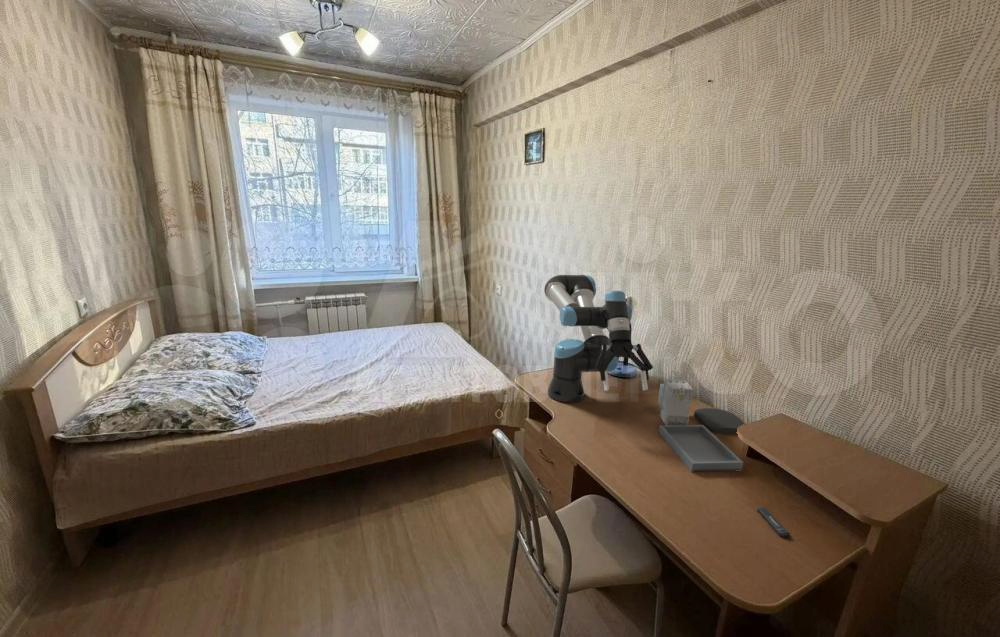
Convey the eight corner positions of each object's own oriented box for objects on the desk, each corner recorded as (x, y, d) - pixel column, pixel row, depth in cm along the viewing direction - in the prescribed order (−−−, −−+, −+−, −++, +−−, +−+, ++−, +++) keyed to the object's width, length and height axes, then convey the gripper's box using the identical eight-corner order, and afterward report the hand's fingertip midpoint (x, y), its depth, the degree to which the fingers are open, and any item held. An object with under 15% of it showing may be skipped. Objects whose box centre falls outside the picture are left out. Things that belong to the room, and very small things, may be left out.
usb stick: (755, 511, 107) (756, 506, 107) (765, 511, 107) (766, 506, 107) (779, 539, 98) (781, 534, 98) (790, 539, 98) (792, 534, 98)
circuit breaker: (674, 409, 161) (680, 374, 157) (687, 427, 147) (693, 389, 143) (655, 407, 162) (660, 372, 158) (666, 426, 148) (671, 388, 144)
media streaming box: (709, 434, 144) (710, 427, 143) (689, 414, 158) (690, 407, 157) (749, 435, 144) (751, 427, 143) (726, 414, 158) (728, 407, 157)
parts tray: (658, 433, 143) (659, 425, 142) (701, 432, 144) (703, 424, 143) (691, 472, 122) (692, 463, 121) (741, 470, 123) (743, 462, 122)
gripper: (588, 328, 144) (593, 388, 136) (657, 328, 145) (666, 388, 138) (583, 335, 151) (587, 392, 143) (648, 335, 152) (657, 391, 145)
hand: (626, 390), depth 140 cm, fingers open, 13 cm apart
